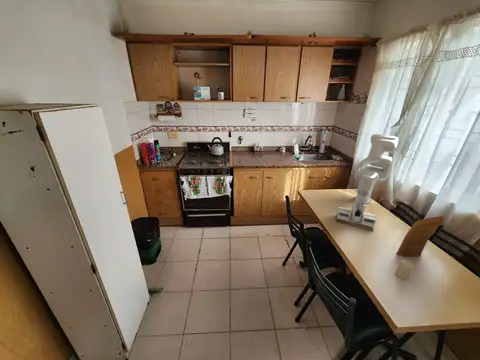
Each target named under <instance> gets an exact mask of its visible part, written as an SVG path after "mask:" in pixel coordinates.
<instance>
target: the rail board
mask: <svg viewBox="0 0 480 360" xmlns="http://www.w3.org/2000/svg"><path fill="white" fill-rule="evenodd" d="M351 211H352V209H351V208H346V207H343V206H342V207H341V206H338V208H337V212H336V218H335V219H336V220H335V222H336V223H340V224H343V225H347V226H350V227H351V226H352V227H353V228H354V227H356V228H359V229H363V230H365V231H366V230H367V231H371V232H374V229H375V225H376V223H377V217H376V214H374V213H368V212H365V211H364V213H363V215H362V218H361V221H360V222H352V220H351V219H350V215H351Z"/></svg>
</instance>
